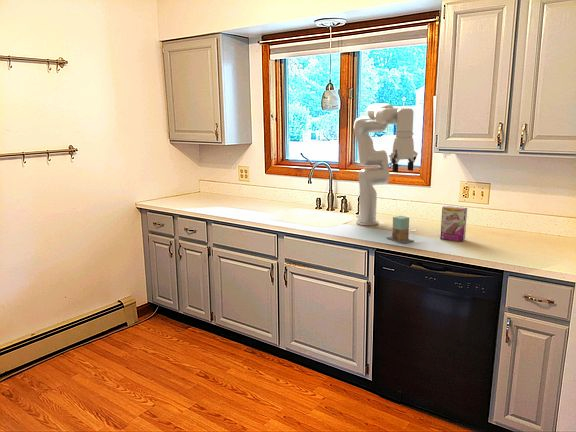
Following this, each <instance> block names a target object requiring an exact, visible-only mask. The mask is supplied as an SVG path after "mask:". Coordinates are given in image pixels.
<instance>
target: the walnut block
mask: <svg viewBox="0 0 576 432" xmlns="http://www.w3.org/2000/svg"><path fill="white" fill-rule="evenodd" d="M409 232H410V231H409V229H404V230H398V229H395V228H393V227H392V233H391V234H392V235H391V237H392V239H395V240H398V241H403V240H408V239H409V235H410V233H409Z"/></svg>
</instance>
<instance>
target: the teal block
mask: <svg viewBox="0 0 576 432" xmlns="http://www.w3.org/2000/svg"><path fill="white" fill-rule="evenodd" d="M393 228H395V229H398V230H404V229H409V228H410V217H408V216H404V215H397V216H393V217H392V229H393Z"/></svg>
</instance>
